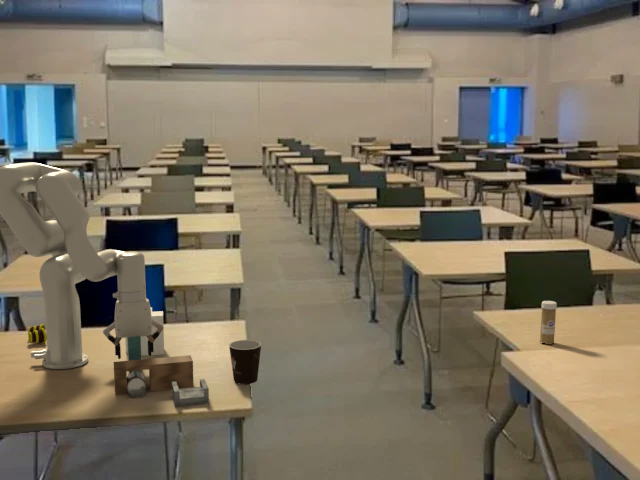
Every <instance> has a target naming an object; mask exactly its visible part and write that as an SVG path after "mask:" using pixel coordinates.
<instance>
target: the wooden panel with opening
mask: <svg viewBox="0 0 640 480" xmlns="http://www.w3.org/2000/svg"><path fill="white" fill-rule="evenodd" d="M137 370H141V371H145V370H148V375H149V376H148V377H149V378H148V379H149V388H150V392H158V391H167V390H168V391H169V390H172V382H177V385H178V388H179V389H182V388H192V387H194V361H193V358H192V355H190V354H189V355H177V356H167V357H155V358H143V359H142V358H141V360H130V361H128V360H122V361H121V360H119V361H113V378H114V380H113V382H114V383H113V384H114V395H115V396H118V395H125V394H126V395H127V394H128V388H127V376H128V374H127V372H132V371H137Z"/></svg>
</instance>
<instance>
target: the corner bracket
mask: <svg viewBox="0 0 640 480" xmlns="http://www.w3.org/2000/svg"><path fill="white" fill-rule="evenodd" d="M150 308H151V316H152V320H154V321H156V322H158V323H159V324H161V325H163V326H164V311H163V310H162V311H161V310H159V311H153V307H151V306H150ZM156 330H157V328H156V327H154V326H153V325H152V334H153V333H154V332H155V331H156ZM164 335H165V331H164V328H163V330H162V332H161V333H160V334H159V336H158V337H157V338H156V339H155V340H154V342H153V350H154V352H151V356H156V355H157V356H159V355H165V337H164ZM124 339H125V340H124V342H125V354H128V350H127V338H124ZM142 356H144V357H145V356H149V355H148V338H147V337H146V336H141V357H142Z"/></svg>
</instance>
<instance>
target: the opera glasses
mask: <svg viewBox="0 0 640 480" xmlns="http://www.w3.org/2000/svg"><path fill="white" fill-rule="evenodd" d="M27 335H28V336H27V337H28V342H29V344H32V343H34V344H38V343H41V344H43V343H44V344H47V336H46V324H44V323H41V324H39V325H33V326H28V329H27Z"/></svg>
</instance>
